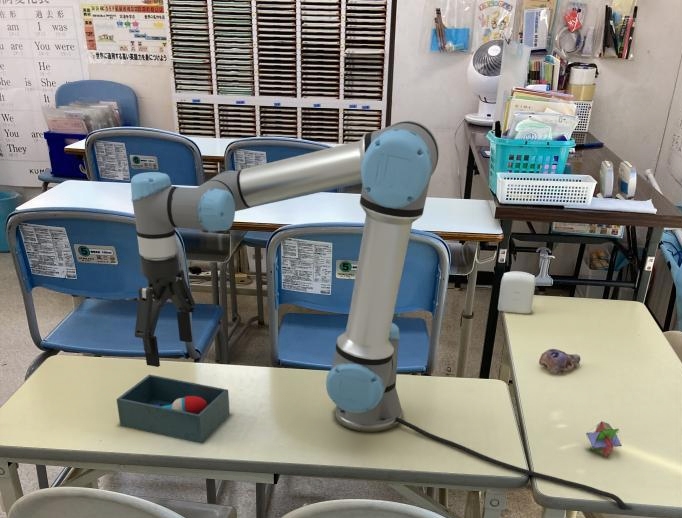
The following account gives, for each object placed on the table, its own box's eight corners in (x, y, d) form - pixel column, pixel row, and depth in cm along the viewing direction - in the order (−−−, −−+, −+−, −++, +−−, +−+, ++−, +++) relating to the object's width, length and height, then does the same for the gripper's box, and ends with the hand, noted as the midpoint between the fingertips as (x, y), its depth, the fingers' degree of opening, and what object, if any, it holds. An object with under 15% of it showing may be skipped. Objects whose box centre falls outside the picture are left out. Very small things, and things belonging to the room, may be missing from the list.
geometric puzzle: (629, 454, 162) (625, 417, 162) (600, 457, 160) (595, 420, 161) (611, 458, 169) (607, 422, 169) (583, 460, 168) (579, 424, 168)
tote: (229, 415, 176) (228, 389, 172) (201, 443, 165) (199, 416, 162) (152, 399, 181) (149, 374, 178) (120, 425, 171) (116, 399, 167)
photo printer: (496, 311, 236) (502, 272, 229) (497, 306, 239) (503, 268, 233) (530, 315, 234) (537, 276, 227) (531, 310, 238) (537, 271, 231)
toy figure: (141, 431, 171) (207, 420, 170) (135, 411, 168) (202, 400, 168) (147, 417, 177) (211, 406, 177) (141, 397, 175) (206, 387, 175)
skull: (572, 358, 207) (577, 338, 203) (587, 374, 201) (592, 354, 197) (532, 364, 204) (536, 345, 200) (546, 380, 198) (551, 360, 194)
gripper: (174, 236, 164) (183, 329, 175) (106, 271, 144) (122, 373, 155) (205, 240, 162) (213, 334, 173) (141, 276, 142) (154, 379, 153)
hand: (170, 353), depth 164 cm, fingers open, 13 cm apart
